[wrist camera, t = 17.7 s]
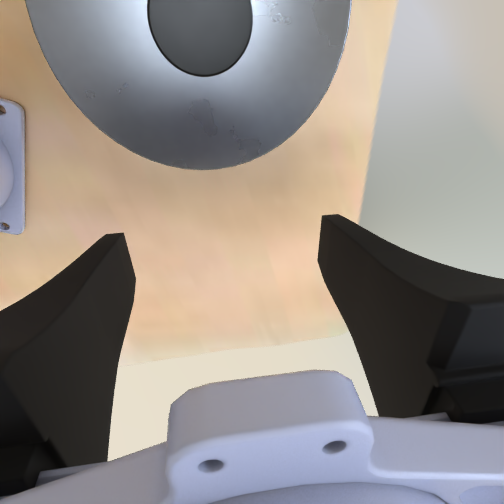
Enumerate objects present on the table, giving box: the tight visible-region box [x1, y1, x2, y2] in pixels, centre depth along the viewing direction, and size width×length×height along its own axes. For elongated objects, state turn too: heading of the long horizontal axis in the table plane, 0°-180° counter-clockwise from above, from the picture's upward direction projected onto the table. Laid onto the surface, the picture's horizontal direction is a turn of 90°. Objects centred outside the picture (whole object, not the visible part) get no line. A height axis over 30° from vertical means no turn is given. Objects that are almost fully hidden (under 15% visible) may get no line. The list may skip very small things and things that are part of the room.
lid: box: [25, 0, 352, 170], centre depth 10 cm, size 11×11×6 cm
